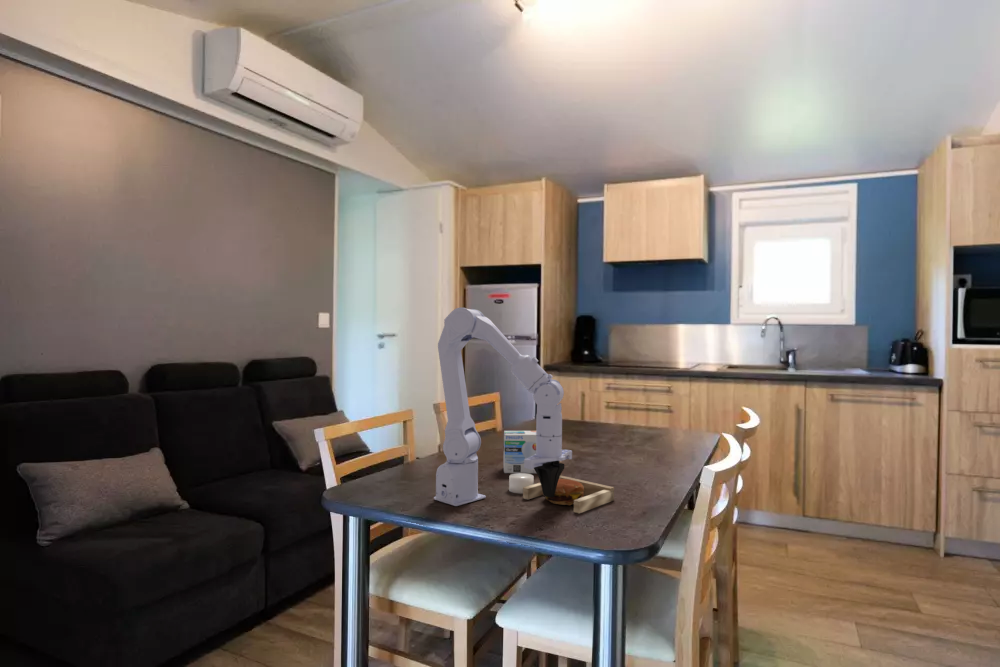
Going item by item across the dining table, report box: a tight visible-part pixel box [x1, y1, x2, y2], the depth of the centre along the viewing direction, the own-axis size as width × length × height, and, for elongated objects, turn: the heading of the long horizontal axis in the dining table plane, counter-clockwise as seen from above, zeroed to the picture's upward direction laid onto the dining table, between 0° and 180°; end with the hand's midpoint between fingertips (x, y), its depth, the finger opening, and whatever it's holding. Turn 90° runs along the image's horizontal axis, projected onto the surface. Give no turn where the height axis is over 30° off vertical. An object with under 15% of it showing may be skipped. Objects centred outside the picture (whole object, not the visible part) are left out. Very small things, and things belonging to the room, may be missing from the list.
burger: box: [544, 479, 585, 506], centre depth 130 cm, size 10×9×5 cm
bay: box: [522, 475, 615, 514], centre depth 131 cm, size 14×16×3 cm
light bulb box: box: [502, 430, 537, 474], centre depth 158 cm, size 11×7×11 cm, turn 92°
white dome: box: [508, 473, 535, 495], centre depth 138 cm, size 6×6×4 cm
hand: (548, 496), depth 125 cm, fingers closed
